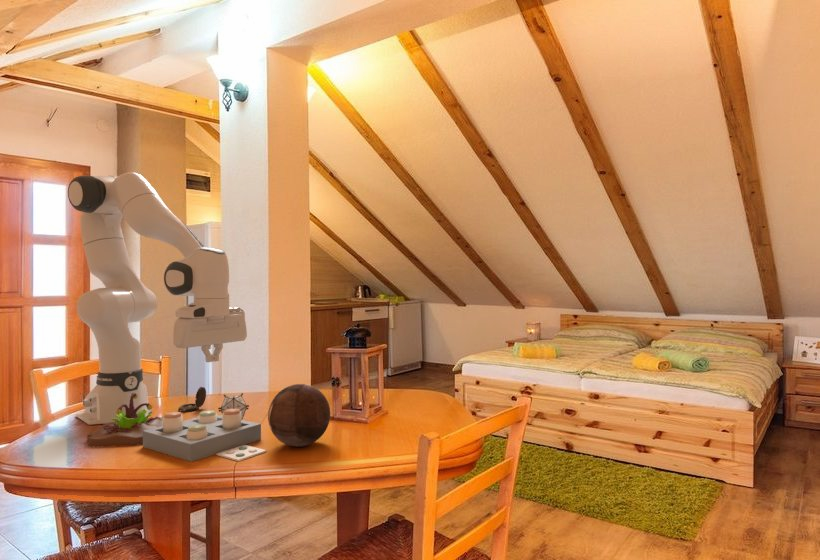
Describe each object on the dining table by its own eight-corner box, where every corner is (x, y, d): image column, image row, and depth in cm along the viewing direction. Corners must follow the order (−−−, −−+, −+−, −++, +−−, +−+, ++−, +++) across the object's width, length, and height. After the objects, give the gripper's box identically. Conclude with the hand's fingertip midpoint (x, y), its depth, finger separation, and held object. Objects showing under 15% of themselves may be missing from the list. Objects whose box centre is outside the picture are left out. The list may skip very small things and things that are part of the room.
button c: (183, 451, 132) (182, 427, 132) (200, 446, 136) (199, 423, 136) (194, 454, 130) (194, 430, 130) (211, 449, 133) (211, 425, 133)
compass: (183, 407, 178) (183, 384, 178) (207, 407, 178) (207, 384, 178) (171, 413, 170) (171, 390, 170) (196, 414, 170) (196, 390, 170)
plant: (182, 424, 159) (182, 385, 159) (159, 445, 140) (158, 401, 140) (109, 427, 157) (108, 387, 157) (75, 449, 138) (74, 404, 137)
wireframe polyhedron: (237, 436, 158) (237, 413, 152) (211, 424, 160) (210, 401, 154) (255, 414, 165) (255, 392, 159) (230, 403, 167) (230, 380, 161)
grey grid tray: (142, 447, 137) (142, 430, 137) (212, 427, 154) (212, 413, 154) (191, 461, 126) (190, 444, 126) (261, 439, 142) (260, 423, 142)
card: (216, 455, 130) (216, 452, 130) (244, 446, 137) (244, 444, 137) (238, 461, 126) (238, 459, 126) (266, 451, 132) (266, 449, 132)
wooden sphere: (334, 435, 145) (333, 378, 144) (325, 454, 130) (324, 390, 129) (276, 436, 145) (275, 379, 144) (261, 455, 130) (260, 391, 129)
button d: (218, 433, 140) (218, 411, 140) (233, 429, 144) (233, 407, 144) (230, 436, 138) (229, 413, 138) (245, 431, 142) (245, 409, 142)
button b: (195, 434, 146) (194, 413, 146) (210, 430, 150) (210, 409, 150) (205, 437, 144) (205, 415, 144) (221, 432, 147) (220, 411, 147)
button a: (159, 437, 138) (158, 414, 138) (176, 432, 142) (175, 410, 142) (169, 440, 135) (169, 417, 135) (186, 435, 139) (186, 413, 139)
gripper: (236, 306, 157) (237, 355, 157) (169, 310, 140) (169, 365, 140) (251, 307, 153) (252, 357, 153) (184, 311, 136) (184, 368, 136)
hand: (212, 361), depth 146 cm, fingers closed
